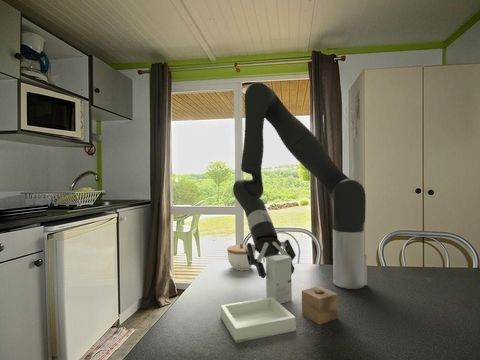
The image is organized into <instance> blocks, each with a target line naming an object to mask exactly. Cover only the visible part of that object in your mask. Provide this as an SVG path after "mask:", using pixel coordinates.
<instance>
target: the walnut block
mask: <svg viewBox="0 0 480 360" xmlns="http://www.w3.org/2000/svg"><path fill="white" fill-rule="evenodd" d="M338 295H339V294H338V293H336V292H335V291H334V292H333V291H332V290H329V289H327V288H325V287H322V286H320V285H319V286H314V287H310V288H306V289H303V290H301V315H302V316H304V317H306V318H308V319H309V320H311V321H312V322H314V323H316V324H318V325H323V324H325V323H328V322H331V321H334V320H337V319H339V318H338V317H339V314H338V313H339V311H338V303H339V300H338Z"/></svg>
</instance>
